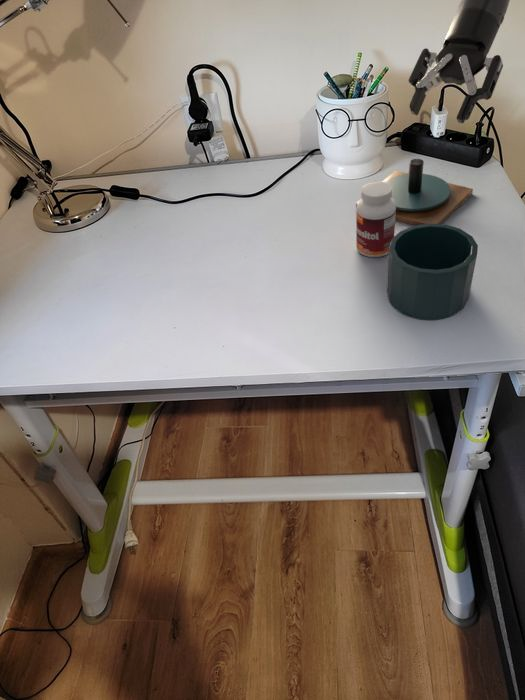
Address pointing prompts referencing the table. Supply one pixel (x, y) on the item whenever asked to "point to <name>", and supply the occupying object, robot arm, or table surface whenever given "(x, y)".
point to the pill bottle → (375, 219)
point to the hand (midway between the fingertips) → (436, 117)
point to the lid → (418, 189)
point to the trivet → (434, 214)
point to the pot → (430, 270)
